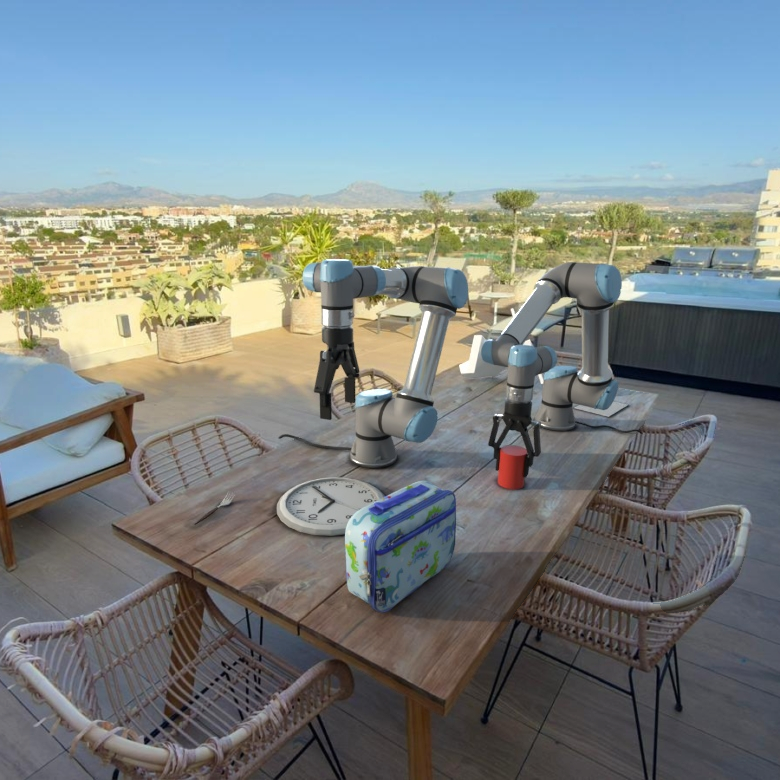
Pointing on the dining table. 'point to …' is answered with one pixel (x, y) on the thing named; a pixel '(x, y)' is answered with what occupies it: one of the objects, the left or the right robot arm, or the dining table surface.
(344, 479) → the wall clock
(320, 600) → the dining table surface
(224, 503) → the fork
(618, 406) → the invitation card
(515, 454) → the canister
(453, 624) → the dining table surface
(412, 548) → the lunch box
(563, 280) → the right robot arm
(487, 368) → the white plastic object
